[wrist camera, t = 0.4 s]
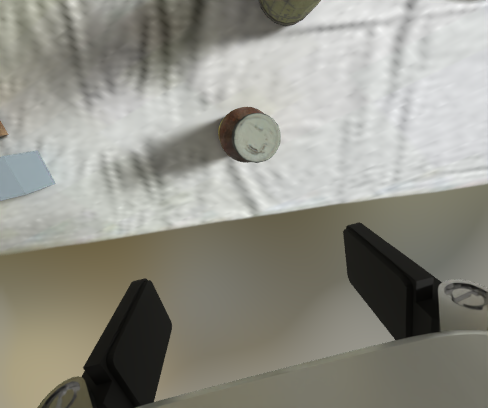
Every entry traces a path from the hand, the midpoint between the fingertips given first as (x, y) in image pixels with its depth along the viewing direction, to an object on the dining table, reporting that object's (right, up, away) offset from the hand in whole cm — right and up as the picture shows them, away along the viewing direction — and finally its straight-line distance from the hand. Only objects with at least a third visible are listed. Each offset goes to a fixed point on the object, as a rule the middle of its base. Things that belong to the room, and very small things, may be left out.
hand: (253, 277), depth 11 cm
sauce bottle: (-1, +15, +27) cm, 31 cm away
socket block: (-36, +9, +26) cm, 45 cm away
